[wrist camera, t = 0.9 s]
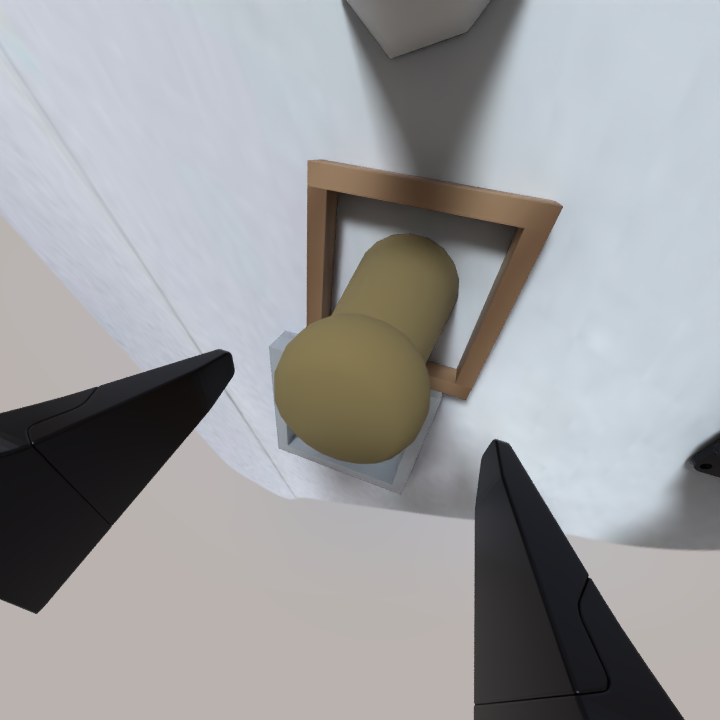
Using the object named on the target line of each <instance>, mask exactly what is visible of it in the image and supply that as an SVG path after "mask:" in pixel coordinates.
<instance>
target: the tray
mask: <svg viewBox="0 0 720 720" xmlns="http://www.w3.org/2000/svg"><path fill="white" fill-rule="evenodd" d="M296 336H297V334H293V333H290V332H287V331H285V332H284V333H283V334H282V335H281V336H280V337H279V338H278V339H276V340H275V341H274V342H273V343H272V344H271V345H270V346H269V351H270V362H271V372H272V383H273V394H274V372H275V370H276V368H277V365H278V363H279V361H280V358H281V356H282V354H283V352H284V349H285V347H286V345H287V344H288V343H289V342H290V341H291V340H292V339H294V338H295V337H296ZM441 398H442V393H441V392H438V391H435V390H432V389H430V406H429V412H428V416H427V418H426V420H425V422H424V424H423V426H422V428H421V430H420V432H419V434H418V436H417V437H416V439H415V441H414V442H413V443H412V444H410V445H409V446H408V447H407V448H405V449H404V450H403V451H402V452H400V453H399V454H398V455H396V456H395V457H393V458H392V459H390V460H386V461H383V462H380V463H377V464H355V463H350V462H345V461H340V460H336V459H334V458H331V457H329V456H326V455H324V454H321V453H320V452H318V451H316V450H315V449H313V448H311V447H310V446H308V445H307V444H306V443H304V442H303V441H302V440H301V439H300V438H299V437H298V436H297V435H295V434H294V433H293V432H292V431H291V429H290V428H289V427H288V425H287V424H286V423H285V421H284V420H283V419H282V417H281V416H280V413H279V411H278V408H277V406H276V403H275V398H274V404H275V415H276V425H277V436H278V446H279V449H282V450H284V451H287V452H290V453H292V454H295V455H298V456H300V457H303V458H306V459H308V460H311V461H313V462H316V463H319V464H321V465H324V466H327V467H329V468H332V469H335V470H337V471H340V472H343V473H345V474H348V475H351V476H353V477H356V478H358V479H361V480H364V481H366V482H369V483H372V484H374V485H377V486H380V487H382V488H385V489H388V490H390V491H393V492H395V493H398V494H402V491H403V489H404V487H405V484H406V482H407V479H408V477H409V475H410V472H411V470H412V468H413V465H414V463H415V461H416V458H417V456H418V454H419V451H420V449H421V447H422V444H423V442H424V440H425V437H426V435H427V432H428V430H429V428H430V425H431V423H432V421H433V418H434V416H435V414H436V411H437V409H438V407H439V404H440V402H441Z"/></svg>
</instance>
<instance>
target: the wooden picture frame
mask: <svg viewBox="0 0 720 720" xmlns="http://www.w3.org/2000/svg"><path fill="white" fill-rule="evenodd" d="M338 192H342V193H347V194H352V195H358V196H363V197H368V198H373V199H378V200H383V201H388V202H393V203H398V204H403V205H408V206H414V207H419V208H424V209H429V210H434V211H439V212H444V213H449V214H454V215H459V216H464V217H470V218H475V219H480V220H485V221H490V222H495V223H500V224H505V225H510V226H515V227H518V228H517V231H516V233H515V235H514V238H513V240H512V242H511V245H510V247H509V249H508V251H507V254H506V256H505V258H504V261H503V263H502V265H501V268H500V270H499V272H498V275H497V277H496V279H495V282H494V284H493V286H492V289H491V291H490V293H489V295H488V298H487V300H486V302H485V305H484V307H483V309H482V312H481V314H480V316H479V319H478V321H477V323H476V326H475V328H474V330H473V333H472V335H471V337H470V339H469V342H468V344H467V346H466V349H465V351H464V353H463V356H462V358H461V360H460V363H459V365H458V367H457V369H454V368H450V367H447V366H443V365H440V364H436V363H433V362H429V361H427V362H426V364H425V365H426V368H427V370H428V374H429V379H430V389H432V390H435V391H438V392H441V393H445V394H448V395H451V396H454V397H458V398H461V399H464V400H466V399H467V397H468V395H469V393H470V391H471V389H472V387H473V385H474V383H475V381H476V379H477V377H478V375H479V373H480V371H481V369H482V367H483V365H484V363H485V361H486V359H487V357H488V355H489V353H490V351H491V349H492V347H493V345H494V343H495V341H496V339H497V337H498V335H499V333H500V331H501V329H502V327H503V325H504V323H505V321H506V319H507V317H508V315H509V313H510V311H511V309H512V307H513V305H514V304H515V302H516V300H517V298H518V296H519V294H520V292H521V290H522V288H523V286H524V284H525V282H526V280H527V278H528V276H529V274H530V272H531V270H532V268H533V266H534V264H535V262H536V260H537V258H538V256H539V254H540V252H541V250H542V248H543V246H544V244H545V242H546V240H547V238H548V236H549V234H550V232H551V230H552V228H553V226H554V224H555V222H556V220H557V218H558V216H559V214H560V212H561V210H562V208H563V206H562V205H560V204H559V203H557V202H556V201H552V200H546V199H541V198H535V197H529V196H524V195H518V194H513V193H507V192H501V191H496V190H490V189H484V188H479V187H473V186H467V185H462V184H456V183H451V182H445V181H439V180H434V179H428V178H422V177H417V176H411V175H405V174H400V173H394V172H389V171H383V170H377V169H372V168H366V167H360V166H355V165H349V164H343V163H338V162H332V161H327V160H309V161H308V188H307V326H308V325H309V324H311V323H313V322H316V321H318V320H320V319H323V318H326V317H329V316H330V311H331V295H332V279H333V264H334V248H335V232H336V216H337V200H338Z"/></svg>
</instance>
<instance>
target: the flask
mask: <svg viewBox="0 0 720 720" xmlns="http://www.w3.org/2000/svg"><path fill="white" fill-rule="evenodd" d="M346 1H347V2H348V3H349V5H350V6H351V7H352V9H353V10H354V11H355V13H356V14H357V15H358V17H359V18H360V19H361V21H362V22H363V23H364V25H365V26H366V27H367V29H368V30H369V31H370V33H371V34H372V35H373V37H374V38H375V39H376V41H377V42H378V43H379V45H380V46H381V47H382V49H383V50H384V51H385V53H386V54H387V55H388V57H389V58H390V59H391V58H394V57H397V56H400V55H403V54H406V53H408V52H411V51H414V50H417V49H420V48H423V47H426V46H428V45H431V44H434V43H437V42H440V41H443V40H446V39H448V38H451V37H454V36H457V35H460V34H463V33H466V32H468V30H469V29H470V28H471V26H472V25H473V24H474V22H475V21H476V20H477V18H478V17H479V16H480V14H481V13H482V12H483V10H484V9H485V8H486V6H487V5H488V4H489V2H490V1H491V0H346Z"/></svg>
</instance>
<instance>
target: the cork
mask: <svg viewBox="0 0 720 720" xmlns="http://www.w3.org/2000/svg"><path fill="white" fill-rule="evenodd" d="M458 288H459V278H458V274H457V271H456V268H455V264H454V262H453V261H452V259H451V258H450V257H449V255H448V254H447V253H446V251H445V250H444V248H442V247H441V246H439V245H438V244H436V243H435V242H433V241H432V240H430V239H429V238H426V237H422V236H419V235H415V234H411V233H409V234H397V235H391V236H389V237H387V238H385V239H382V240H380V241H378V242H376V243H375V244H374V245H373V246H372V247H371V248H370V249H369V250H368V251H367V252H366V253H365V254H364V256H363V258H362V260H361V262H360V264H359V266H358V267H357V269H356V271H355V273H354V275H353V277H352V278H351V280H350V282H349V284H348V286H347V288H346V289H345V291H344V293H343V295H342V297H341V299H340V300H339V302H338V304H337V306H336V308H335V310H334V312H333V313H332V315H331V316H329V317H326V318H323V319H320V320H318V321H316V322H313V323H311V324H309V325H308V326H307V327H306V328H305V329H304V330H302V331H301V332H300V333H299V334H298V335H297V336H296V337H295V338H294V339H292V340H291V341H290V342H289V343H288V344H287V345H286V347H285V349H284V352H283V354H282V356H281V358H280V361H279V363H278V365H277V368H276V370H275V372H274V398H275V403H276V406H277V408H278V411H279V413H280V416H281V417H282V419H283V420H284V421H285V423H286V424H287V425H288V427H289V428H290V429H291V431H292V432H293V433H294V434H295V435H297V436H298V437H299V438H300V439H301V440H302V441H303V442H304V443H306V444H307V445H308V446H310V447H311V448H313V449H315V450H316V451H318V452H320V453H321V454H324V455H326V456H329V457H331V458H334V459H336V460H340V461H345V462H350V463H355V464H377V463H380V462H383V461H386V460H390V459H392V458H393V457H395V456H396V455H398V454H399V453H400V452H402V451H403V450H404V449H405V448H407V447H408V446H409V445H410V444H412V443H413V442H414V441H415V439H416V437H417V436H418V434H419V432H420V430H421V428H422V426H423V424H424V422H425V420H426V418H427V416H428V412H429V406H430V379H429V374H428V370H427V368H426V365H425V364H426V362H427V360H428V358H429V356H430V354H431V352H432V350H433V348H434V346H435V344H436V342H437V340H438V338H439V336H440V334H441V332H442V330H443V328H444V326H445V324H446V322H447V320H448V318H449V316H450V314H451V312H452V309H453V307H454V304H455V302H456V300H457V297H458Z"/></svg>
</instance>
